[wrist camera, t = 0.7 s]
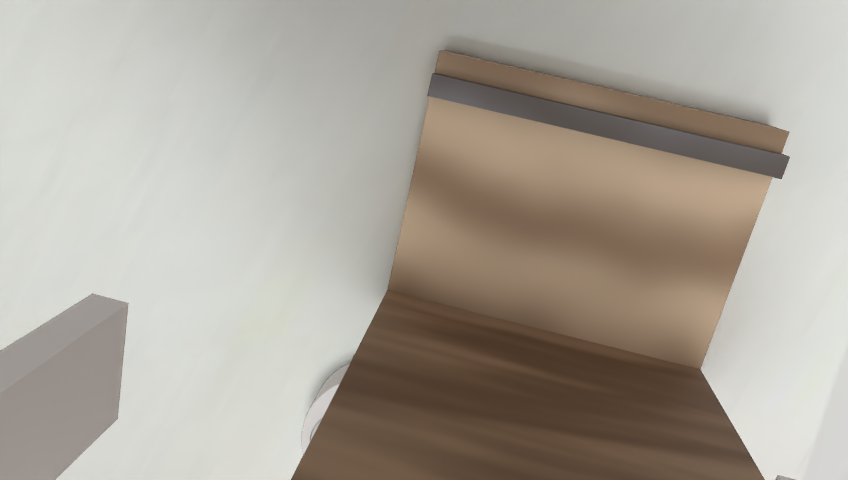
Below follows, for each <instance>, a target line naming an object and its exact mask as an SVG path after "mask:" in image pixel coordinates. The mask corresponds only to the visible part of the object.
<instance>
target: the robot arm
mask: <svg viewBox="0 0 848 480" xmlns="http://www.w3.org/2000/svg"><path fill="white" fill-rule="evenodd" d="M127 312H128V303H126V302H122V301H119V300H115V299H111V298H107V297H104V296H100V295H96V294H91V295H89V296H88V297H86V298H85V299H83V300H81V301H80V302H78V303H77V304H75V305H73V306H72V307H70V308H68V309H67V310H65V311H64V312H62V313H60V314H59V315H57V316H56V317H54V318H52V319H51V320H49V321H48V322H46V323H44V324H43V325H41V326H39V327H38V328H36V329H35V330H33V331H31V332H30V333H28V334H27V335H25V336H23V337H22V338H20V339H19V340H17V341H15V342H14V343H12V344H10V345H9V346H7V347H6V348H4V349H2V350H1V351H0V480H55V479H56V478H57V477H58V476H59V475H60V474H61V473H62V472H64V471H65V470H66V469H67V468H68V467H69V466H70V465H71V464H72V463H73V462H74V461H75V460H76V459H77V458H78V457H79V456H80V455H81V454H82V453H83V452H84V451H85V450H86V449H87V448H88V447H89V446H90V445H91V444H92V443H93V442H94V441H95V440H96V439H97V438H98V437H99V436H100V435H101V434H102V433H103V432H105V431H106V430H107V429H108V428H109V427H110V426H111V425H112V424H113V423H114V422H115V421H116V420H117V419H118V409H119V398H120V387H121V377H122V366H123V355H124V344H125V334H126V323H127ZM776 480H795V479H791V478H787V477H783V476H780V475H777V477H776Z"/></svg>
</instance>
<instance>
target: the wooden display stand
mask: <svg viewBox="0 0 848 480" xmlns="http://www.w3.org/2000/svg"><path fill="white" fill-rule="evenodd" d="M428 96H430V97H429V101H428V106H427V111H426V115H425V120H424V124H423V129H422V134H421V138H420V143H419V147H418V152H417V157H416V161H415V166H414V170H413V175H412V179H411V184H410V189H409V193H408V198H407V202H406V207H405V212H404V216H403V221H402V225H401V230H400V235H399V239H398V244H397V248H396V253H395V258H394V262H393V267H392V271H391V276H390V281H389V285H388V290H387V292H386V294H385V296H384V298H383V300H382V302H381V304H380V306H379V308H378V310H377V312H376V314H375V316H374V318H373V320H372V322H371V324H370V325H369V327H368V329H367V331H366V333H365V335H364V337H363V339H362V341H361V343H360V345H359V347H358V349H357V351H356V353H355V355H354V357H353V359H352V361H351V363H350V365H349V367H348V369H347V371H346V373H345V375H344V377H343V379H342V380H341V382H340V384H339V386H338V388H337V390H336V392H335V394H334V396H333V398H332V400H331V402H330V404H329V406H328V408H327V410H326V412H325V414H324V416H323V418H322V420H321V422H320V424H319V426H318V428H317V430H316V432H315V434H314V435H313V437H312V439H311V441H310V443H309V445H308V447H307V449H306V451H305V453H304V455H303V457H302V459H301V461H300V463H299V465H298V467H297V469H296V471H295V473H294V475H293V477H292V479H291V480H765V479H764V478H763V476H762V474H761V473H760V471H759V469H758V467H757V466H756V464H755V462H754V461H753V459H752V457H751V455H750V454H749V452H748V450H747V449H746V447H745V445H744V444H743V442H742V440H741V438H740V437H739V435H738V433H737V432H736V430H735V428H734V426H733V425H732V423H731V421H730V420H729V418H728V416H727V414H726V413H725V411H724V409H723V408H722V406H721V404H720V402H719V401H718V399H717V397H716V396H715V394H714V392H713V391H712V389H711V387H710V385H709V384H708V382H707V380H706V379H705V377H704V375H703V373H702V372H701V370H700V368H701V366H702V363H703V360H704V358H705V355H706V352H707V350H708V347H709V344H710V342H711V339H712V336H713V334H714V331H715V328H716V326H717V323H718V320H719V318H720V315H721V312H722V310H723V307H724V304H725V302H726V299H727V296H728V294H729V291H730V289H731V286H732V283H733V281H734V278H735V275H736V273H737V270H738V267H739V265H740V262H741V259H742V257H743V254H744V251H745V249H746V246H747V243H748V241H749V238H750V235H751V233H752V230H753V227H754V225H755V222H756V220H757V217H758V214H759V212H760V209H761V206H762V204H763V201H764V198H765V196H766V193H767V190H768V188H769V185H770V182H771V180H772V177H775V178H779V179H782V177H783V174H784V171H785V169H786V166H787V164H788V161H789V158H790V157H789V156H786V155H784V154H781V153H782V150H783V148H784V145H785V143H786V140H787V137H788V135H789V131H785V130H782V129H779V128H776V127H772V126H769V125H765V124H760V123H756V122H752V121H747V120H743V119H739V118H734V117H730V116H726V115H721V114H717V113H713V112H708V111H704V110H700V109H695V108H691V107H687V106H682V105H678V104H674V103H669V102H665V101H661V100H656V99H652V98H648V97H643V96H639V95H635V94H630V93H626V92H622V91H617V90H613V89H609V88H604V87H600V86H596V85H591V84H587V83H583V82H578V81H574V80H570V79H565V78H561V77H557V76H552V75H548V74H544V73H539V72H535V71H531V70H526V69H522V68H518V67H513V66H509V65H505V64H500V63H496V62H492V61H488V60H483V59H479V58H475V57H470V56H466V55H462V54H457V53H453V52H449V51H439V55H438V60H437V65H436V69H435V73H433V74H432V77H431V82H430V87H429V91H428Z"/></svg>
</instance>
